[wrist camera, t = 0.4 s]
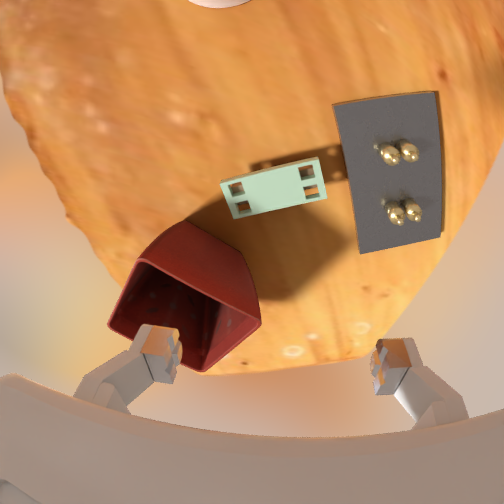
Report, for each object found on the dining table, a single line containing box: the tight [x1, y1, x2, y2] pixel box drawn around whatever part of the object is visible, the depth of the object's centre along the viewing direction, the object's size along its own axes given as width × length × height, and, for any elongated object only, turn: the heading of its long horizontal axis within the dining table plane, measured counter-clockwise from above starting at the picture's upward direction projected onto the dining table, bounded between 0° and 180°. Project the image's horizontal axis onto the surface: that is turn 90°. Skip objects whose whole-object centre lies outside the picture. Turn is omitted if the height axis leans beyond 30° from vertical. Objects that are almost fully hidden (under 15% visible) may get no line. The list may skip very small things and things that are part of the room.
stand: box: [231, 164, 318, 205], centre depth 44 cm, size 3×12×4 cm, turn 108°
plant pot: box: [107, 221, 262, 372], centre depth 50 cm, size 19×19×17 cm
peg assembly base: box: [332, 91, 442, 254], centre depth 41 cm, size 26×16×6 cm, turn 17°
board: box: [220, 156, 327, 219], centre depth 42 cm, size 14×6×1 cm, turn 108°
